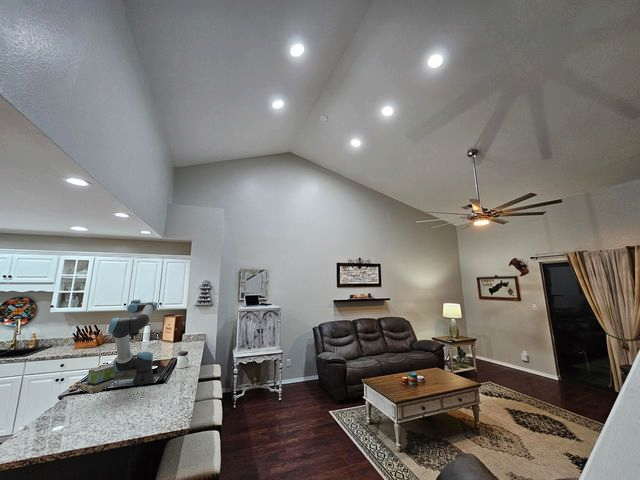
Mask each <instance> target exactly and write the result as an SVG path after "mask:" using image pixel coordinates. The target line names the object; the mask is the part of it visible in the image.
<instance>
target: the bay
mask: <svg viewBox="0 0 640 480" xmlns="http://www.w3.org/2000/svg"><path fill="white" fill-rule="evenodd" d="M105 388H108V389H109V385H108V383H106V384H103V385H100V386H97V387H92V386H87V382H84V383H81V384H79V390H80V389H81V390H85V391H87V392H86V393H89V394H96V393H99V392H103V391H104V390H103V389H105ZM81 390H80V391H81ZM102 390H103V391H102ZM105 390H106V389H105ZM85 391H84V392H85Z"/></svg>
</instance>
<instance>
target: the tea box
mask: <svg viewBox="0 0 640 480" xmlns="http://www.w3.org/2000/svg"><path fill="white" fill-rule="evenodd" d="M87 374H88V375H87V382H86V383H87V386H92V387H97V386H100V385H103V384H106V383H108V386H110V385H109V384H111V385H113V384H112V383H114V384H115V378H116V376H115V375H116V371H115V370H114V364H105V365H102V366H98V367H93V368H91V369H88V373H87Z"/></svg>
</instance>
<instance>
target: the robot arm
mask: <svg viewBox="0 0 640 480" xmlns="http://www.w3.org/2000/svg"><path fill="white" fill-rule="evenodd" d="M157 309H158V303H157V302H156V301H154V302H153V301H149V302H141V299H132V300H131V301H130V303H129V304H128V306H127V309H126V310H127V312H129V313H130V314H129V316H125V317H124V316H123V317H120V316H119V317H113V318H112V319H110V322H109V326H108V335H111V336H112V337H113V338H114V339H115V346H116V347H115V348H116V353H117V355H116V357H115V358H114V360H113V365H114V370H115V373H122V372H129V371H130V372H131V371H135V374H134V377H133V379H132V385H134V386H141V385H147V384H150V383H152V382H153V381H154V380H155V375H154V373H153V363H154V362H153V360H154V354H153V353H152V352H149V351H142V352H137V354H133V352H131V345H130V340H131V344H136V340H137V336H138V335H139V334H140V330H142V329H144V328H145V327H147V325H148V324H149V322H150V321H151V320H150V317H151V315H152V313H153V312H155V311H156V310H157ZM130 337H131V338H130Z"/></svg>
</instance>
